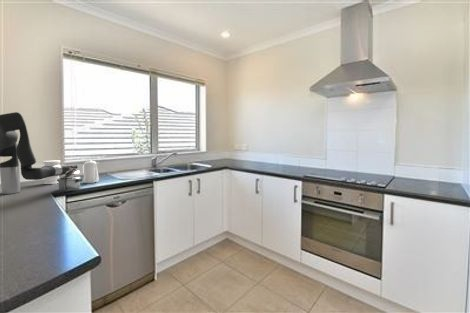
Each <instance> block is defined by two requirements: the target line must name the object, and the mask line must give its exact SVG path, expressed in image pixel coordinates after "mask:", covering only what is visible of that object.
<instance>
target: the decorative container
mask: <svg viewBox="0 0 470 313" xmlns="http://www.w3.org/2000/svg"><path fill="white" fill-rule="evenodd" d="M42 164H44V166H50V165H56V164H61V160H60V159H59V160H58V159H57V160H43V161H42ZM57 179H59V176H51V177H46V178H44V180H45V181H44V182H43V184H53V185H58V184H57V183H58V182H57Z"/></svg>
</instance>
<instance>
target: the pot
mask: <svg viewBox="0 0 470 313" xmlns="http://www.w3.org/2000/svg"><path fill="white" fill-rule="evenodd" d="M82 181H83V179H82V178H81V176H75V177H72V178H68V179H60V178H59V179H57V182H58V184H57V185H58V192H69V191H70V192H71V191H77V190H80V189H81V188H82V186H81V182H82Z"/></svg>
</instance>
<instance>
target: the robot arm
mask: <svg viewBox="0 0 470 313" xmlns="http://www.w3.org/2000/svg"><path fill="white" fill-rule="evenodd" d="M17 131H19V134H18V132H17ZM18 138H19V140H18ZM31 146H32V145H31V142H30V137H29V132H28V128H27V125H26V120H25V119H24V116H23V115H22V114H21V113H20V112H18V111H17V112H16V111H15V112H10V113H3V114H0V158H1V157H2V158H3V157H4V158H5V157H6V158H7V157H11V158H10V159H8V160H6V161H3V162H0V188H1V194H2V195H12V194H18V193H21V192H22V191H21V190H22V188H21V177H20V176H22V177H23V179H25V180H28V181H31V180H32V181H39V180H40V181H41V180H43V179H44V180H45V178H46V177H51V176H59V175H64V174H65V173H66V172H68V171H71V170H78V165H77V164H76V165H66V164H64V163H59V164H56V165H50V166H45V165H43V166H42V167H33V165H35V164H36V163H37V159H36V156H35V154H34V152H33V149H32V147H31ZM20 174H21V175H20Z"/></svg>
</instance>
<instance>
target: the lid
mask: <svg viewBox="0 0 470 313" xmlns="http://www.w3.org/2000/svg"><path fill="white" fill-rule="evenodd" d="M80 173H81V172H80V170H79V169H76V170H71V171H68V172H66V173H65V174H64V175H59V178H60V179H68V178H72V177H78V176H79V175H80Z"/></svg>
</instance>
